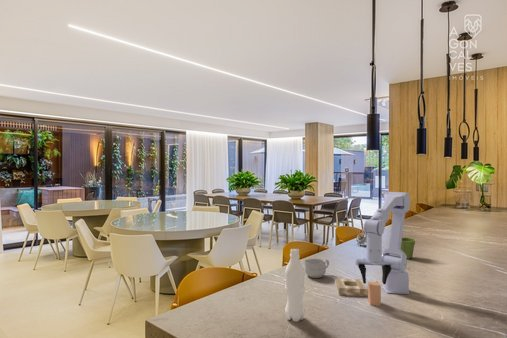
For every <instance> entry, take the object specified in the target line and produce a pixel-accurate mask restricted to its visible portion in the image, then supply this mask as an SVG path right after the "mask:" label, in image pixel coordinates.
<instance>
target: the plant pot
mask: <svg viewBox="0 0 507 338" xmlns="http://www.w3.org/2000/svg"><path fill="white" fill-rule="evenodd" d="M416 241H417V239H416V238H412V237H403V236H402V242H401V250H402V251H403V252H404V253H405V254H406V256H407V260H409V259H410V258H411V259H413V256H414V249H415V245H416ZM398 257H400V256H398Z"/></svg>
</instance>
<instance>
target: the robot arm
mask: <svg viewBox="0 0 507 338" xmlns="http://www.w3.org/2000/svg"><path fill="white" fill-rule="evenodd" d="M410 206H411V195H410V193H409V192H407V191H405V192H402V191H401V192H400V191H399V192H397V191H386V192H385V193H384V194H383V204H382V206H381V208H378V209H376V211H375V212H374V213H373V215H372V217H371V218H370V219H367V220H365V221H364V224H363V231H364V232H365V236H366V238H367V243H366V258H357V259H354V262H355V263H354V264H355V266H357V267H358V269H359V271H360V274H361V279H362V281H363V283H364V284H365V285H366V284H367V276H366V274H367V267H366V266H381V268H382V269H381V270H382V273H381V274H382V277H381V278H382V279H381V280H382V281H381V282H382V284H383V285H381V287H382V289H383V290H384V291H385V292H386V293H387V294H397V295H398V294H403V295H404V294H406V295H410V292H409V291H410V289H409V288H410V285H409V284H410V282H409V281H410V280H409V279H410V278H409V274H408V272H407V271H406V270H407V267H408V265H407V264H408V261H407V260H408V259H407V256H406V254H405V253H404V252H403V251H402V250H401V242H402V237H403V232H404V223H405V216H406V214H407V213H408V212H410ZM390 212H392V220H391V228H390V234H389V235H390V236H389V243H388V247H387V248H385V249H383V250H382V245H383V243H382V242H383V240H382V237H383V234H384V233H385V228H386V223H387V222H388V221H389V219H390ZM399 256H400V257H399Z"/></svg>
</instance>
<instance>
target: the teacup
mask: <svg viewBox="0 0 507 338" xmlns="http://www.w3.org/2000/svg"><path fill="white" fill-rule="evenodd" d="M303 262H304V271H305V275H307V276H308V277H309V278H312V279H313V278H314V279H320V278H322V277H323V276H324V275H325V274H326V272H327V271H326V269H327V268H329V265H330V262H329V260H328V259H323V258H306V259H304V261H303Z"/></svg>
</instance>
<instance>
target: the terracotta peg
mask: <svg viewBox="0 0 507 338" xmlns="http://www.w3.org/2000/svg"><path fill="white" fill-rule="evenodd" d="M381 287H382V285H381V284H380V283H379V281H367V289H368V296H367V302H368V304H369V305H370V306H382V302H381V299H382V297H381V296H382V295H381V293H382V288H381Z"/></svg>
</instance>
